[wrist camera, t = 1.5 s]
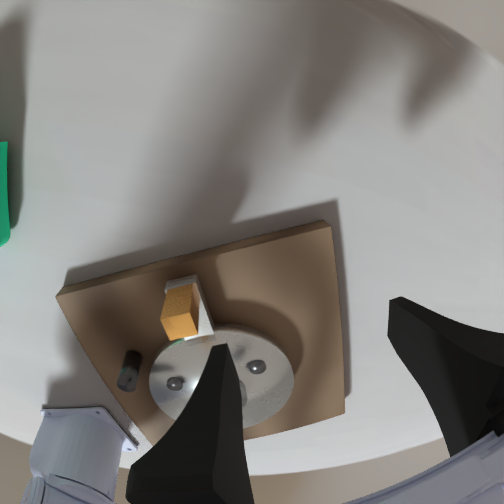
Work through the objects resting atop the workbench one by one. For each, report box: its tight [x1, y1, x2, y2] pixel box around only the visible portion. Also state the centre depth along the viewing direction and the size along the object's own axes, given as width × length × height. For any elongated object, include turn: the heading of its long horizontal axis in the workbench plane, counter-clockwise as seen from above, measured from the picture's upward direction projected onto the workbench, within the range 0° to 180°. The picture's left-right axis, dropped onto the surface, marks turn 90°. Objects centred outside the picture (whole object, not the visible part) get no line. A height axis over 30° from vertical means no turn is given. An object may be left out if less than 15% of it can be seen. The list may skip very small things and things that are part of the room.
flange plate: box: [149, 274, 294, 428], centre depth 20 cm, size 15×11×5 cm
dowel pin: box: [117, 350, 143, 392], centre depth 20 cm, size 1×1×3 cm
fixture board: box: [55, 220, 345, 446], centre depth 24 cm, size 20×20×2 cm
